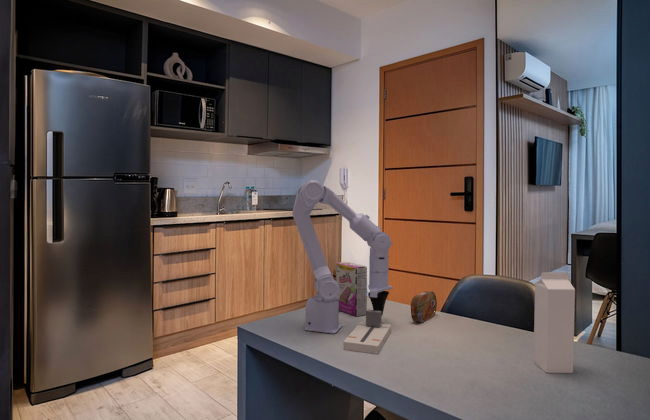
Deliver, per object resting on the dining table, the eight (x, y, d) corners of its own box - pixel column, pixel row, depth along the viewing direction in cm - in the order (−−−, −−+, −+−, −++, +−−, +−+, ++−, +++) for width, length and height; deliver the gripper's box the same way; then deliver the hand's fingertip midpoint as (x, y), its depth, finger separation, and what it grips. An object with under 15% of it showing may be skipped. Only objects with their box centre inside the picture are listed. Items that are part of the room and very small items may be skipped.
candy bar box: (334, 309, 141) (334, 262, 141) (345, 307, 144) (346, 261, 144) (356, 317, 132) (356, 267, 132) (367, 315, 135) (367, 265, 135)
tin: (418, 325, 124) (418, 298, 124) (408, 323, 126) (408, 296, 126) (437, 314, 136) (437, 289, 136) (428, 313, 138) (428, 288, 138)
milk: (533, 362, 97) (534, 269, 96) (559, 362, 97) (560, 270, 96) (546, 373, 91) (547, 274, 90) (574, 373, 91) (575, 274, 90)
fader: (365, 325, 117) (365, 311, 116) (367, 323, 119) (367, 309, 119) (379, 327, 115) (379, 312, 115) (381, 324, 118) (381, 310, 117)
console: (343, 349, 105) (343, 341, 104) (361, 328, 121) (361, 321, 121) (377, 354, 102) (377, 345, 101) (391, 331, 118) (391, 324, 118)
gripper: (387, 276, 115) (387, 324, 115) (396, 267, 128) (395, 310, 129) (363, 274, 117) (362, 321, 117) (374, 266, 131) (373, 308, 131)
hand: (378, 315), depth 123 cm, fingers closed
